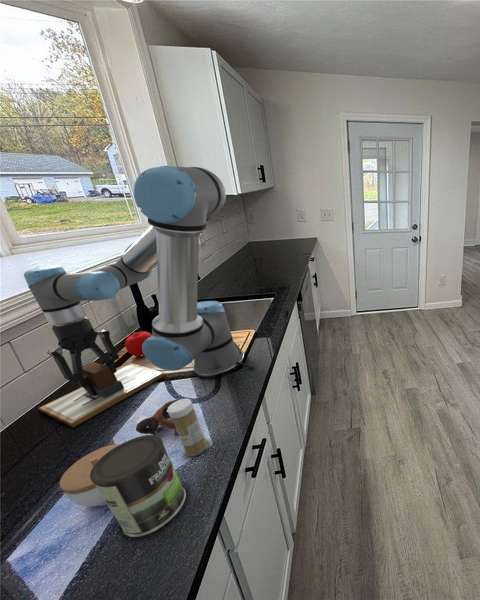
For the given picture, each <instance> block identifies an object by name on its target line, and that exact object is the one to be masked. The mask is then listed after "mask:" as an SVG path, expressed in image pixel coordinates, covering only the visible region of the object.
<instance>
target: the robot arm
mask: <svg viewBox="0 0 480 600" xmlns="http://www.w3.org/2000/svg"><path fill="white" fill-rule="evenodd" d="M132 192H133V199H134V202H135V205H136V207H138V208H140V212H141V213H142V215H144V217H146V218H147V224H148V225H149V226H150V227H148V229H146V231H145V232H143V234H142V235H141V236H140V237H139V238H138V239H137V240H135V242H134V243H133V244H132V245H131V246H130V247H129V248H128V249H126V251H125V252H124V253H123V254H122V255H121V256H120V257H119V258H118V259H117V260H116V261H115V262H112V263H108V264H105V265H103V266H99V267H96V268H93V269H90V270H86V271H83V272H71V273H68V272H67V271H66V270H65V268H64V267H63V266H62V265H57V264H55V265H53V264H52V265H46V266H40V267H35V268H31V269H28V270H26V271H25V272H24V273H23V278H24V279H25V282H26V285H27V288H28V289H29V290H30V292H31V294H32V295H33V297H34V299H35V301H36V302H37V303H36V304H38V306H39V308H40V309H41V311H42V313H43V315H44V316H45V318H46V321H47V323H48V324H49V325H50V326H51V327H50V328H51V330H52V332H53V334H54V336H55V337H56V339H57V341H58V342H57V346H56V347H54V348H53V349H49V350H47V352H46V353H47V354H48V355H49V356H50V357H51V358H53V360H54V361H55V363H56V366H57V367H58V369H59V371H60V373H61V374H62V377H63V378H64V380H67V381H69V382H73V381H75V380H76V382H77V384H78V386H79V388H81V387H82V388H85V387H86V389H87V391H88V393H89V394H91V395H93V396H95V395H97V393H96V392H95V390H94V387H93V386H92V384H91V382H90V380H89V378H88V376H85V375H83V369H82V366H83V362H82V352H84V351H85V350H88V349H90V351H92V353H93V354H95V355H96V356H97V357H98V358H99V359H100V360H101V362H103V363H104V365H105V366H108V367H109V368H110V370H111V372H112V374H113V376H114V378H115V380H117V378H116V376H115V374H114V373H116V372H117V370H118V369H117V368H116V366H115V364H116V361H117V360H119V359H120V355H119V353H118V352H117V349H116V348H115V346H114V343H113V342H112V340H111V337H110V336H111V335H110V334H111V333H110V331H109V330H106V329H101V330H95V329H94V328H93V327H94V326H93V325H92V323H91V321H90V318H89V317H87V313H86V310H85V309H84V307H83V305H82V303H81V302H88V301H93V302H95V301H97V302H99V301H103V300H110V299H112V298H115V297H116V295H117V294H118V292H120V290H122V289H124V288H127V287H130V286H133V285H135V284H137V283H140V282H143V281H144V280H145V279H148V278H150V276H151V275H152V271H153V269H154V267H155V266H156V267H157V268H156V269H157V270H156V271H157V295H158V296H157V297H158V298H157V300H158V315H157V316H155V317H154V318H153V319H152V322H151V335H152V336H151V337H149V338H148V339H146V341H145V342H144V343H143V346H142V351H143V354H144V358H145V359H146V360H147V361H148V362H150V363H151V364H152V365H153V366H155V367H156V368H159V369H161V370H165V371H173V372H174V371H175V372H176V371H179V370H182V369H184V368H185V367H186V366H188V365H190V364H191V365H192V366H193V371H194V374H195V375H196V376H197V377H199V378H203V379H209V378H210V379H211V378H216V377H221V376H224V375H226V374H229V373H232V372H233V371H235V370H236V369H238V368H239V367H240V366H242V367H245V368H248V369H251V370H253V369H254V366H252V365H250V364H246V363H244V362H245V354H244V352H243V350H242V349H241V348H240V346H239V345H238V344H237V343H236V341H235V340H234V338H233V334H232V331H231V327H230V324H229V321H228V317H227V315H226V310H225V308H224V306H223V303H221V302H219V301H216V300H204V301H199V302H198V292H199V291H198V290H199V288H198V287H199V285H198V284H199V283H198V282H199V240H200V239H199V237H200V236H199V235H200V234H203V232H205V231H206V230H207V222H208V221H209V220H210V219H211V218H212V217H213V216H214V215H216V214H217V213H218V212H220V210H221V209H222V208H223V207H224V205H225V203H226V201H227V200H226V199H227V192H226V187H225V185H224V183H223V182H222V180H221V178H219V177H218V176H217V175H216V174H215V173H213V172H212V171H211V170H209V169H206V168H203V167H200V166H199V167H198V166H171V165H161V166H156V167H150V168H147V169H145V170H143V172H140V174H139V175H138V176H137V177H136V179H135V181H134V184H133V188H132ZM97 338H99V339H100V340H101V342H102V344H103V346H104V348H105V351H106V352H107V354H106V352H105V351H103V350H102V349H101V347H100V346H99V345H98V344H97V343H96V341H97ZM63 349H64V350H66V351H69V356H70V359H71V368H72V369H71V368H70V366H69V364H68V362H67V361H66V359H65V357H64V356H63V353H64V352H63Z"/></svg>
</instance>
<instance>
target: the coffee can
mask: <svg viewBox="0 0 480 600" xmlns="http://www.w3.org/2000/svg"><path fill="white" fill-rule="evenodd" d="M119 444H120V445H118V446H117V447H115V448H113V449H112V450H110V451H109V452H108V453H106V454H105V455H104V456H103V457H101V458H100V459H99V460H98V461H97V463H96V464H95V465H94V466H93V468H92V470H91V472H90V479H91V481H92V482H93V483H94V484H95V485H96V487H97V488H98V490H99V491H100V493H101V495H102V496H103V498H104V500H105V501H106V503H107V504H106V505H107V507H108V508H109V509H110V511H111V513H112V514H113V516H114V517H115V519H116V521H117V523H118V524H119V526H120V527H121V529H122V532H123V534H124V535H126V536H127V537H131V538H139V537H145V536H146V535H150V534H152V533H154V532H156V531H159V530H160V529H161V528H163V527H164V526H165V525H167V524H168V523H169V522H170V521H172V520H173V518H174V517H175V516H177V514H178V513H179V512H180V511H181V509H182V508H183V506H184V504H185V502H186V497H187V493H186V489H185V488H184V486H183V484H182V482H181V480H180V478H179V476H178V473H177V471H176V469H175V466H174V465H173V463H172V460H171V457H170V456H169V453H168V452H167V449H166V447H165V443H164V441H163V439H162V437H160V436H159V435H157V434H156V435H152V434H144V435H140V436H136V437H134V438H131V439H128V440H126V441H125V442H122V443H119Z"/></svg>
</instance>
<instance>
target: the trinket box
mask: <svg viewBox="0 0 480 600" xmlns="http://www.w3.org/2000/svg"><path fill="white" fill-rule="evenodd" d="M120 444H121V443H115V444H110V445H105V446H103V447H100V448H98V449H96V450H93V451H92V452H90V453H88V454H85V456H83V457H81V458H80V459H78V460H77V461H76V462H74V463H73V464H72V465H71V466H69V468H68V469H67V470H66V471H65V472H64V473H63V474H62V476H61V478H60V479H59V487H60V489H61V491H62V492H63V493H65V495H66V496H67V497H68V498H69V499H70V500H71V502H74V503H75V504H76V505H78V506H79V505H80V506H82V507H90V508H91V507H102V506H106V505H107V503H106V501H105V500H104V498H103V496H102V495H101V493H100V491H99V490H98V488H97V487H96V485H95V484H94V483H93V482H92V481H91V479H90V472H91V470H92V468H93V466H94V465H95V464H96V463H97V461H98V460H99V459H100V458H101V457H103V456H104V455H105V454H106V453H108V452H109V451H110V450H112V449H113V448H115V447H117V446H118V445H120Z"/></svg>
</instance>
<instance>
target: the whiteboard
mask: <svg viewBox="0 0 480 600" xmlns="http://www.w3.org/2000/svg"><path fill="white" fill-rule="evenodd" d="M116 370H117V372H116V373H114V374H115V376H116V378H117V380H118V381H121V383H122V385H123V387H124V388H123V389H121V390H119V391H117V392H115V393H114V394H112V395H110V396H108V397H106V398H104V397H101V396H99V395H95V396H93V395H91V394H89V393H88V391H86V390H85V389H84V388H82V387H79V388H77V389H75V390H73V391H71V392H69V393H66V394H64V395H62V396H61V397H58V398H56V399H55V400H53V401H50V402H48V403H46V404H44V405H42V406H40V407H38V409H39V410H40V412H42V413H44V414H45V415H48V416H50V417H52V418H54V419H56V420H58V421H59V422H62V423H63V424H65V425H67V426H70V427H71V428H75V427H76V426H79V425H80V424H82V423H83V422H85V421H87V420H89V419H91V418H93V417H94V416H97V415H98V414H100V413H102V412H103V411H106V410H107V409H109V408H111V407H112V406H114V405H116V404H117V403H119V402H121V401H123V400H124V399H126V398H128V397H130V396H132V395H133V394H136V393H137V392H139V391H141V390H142V389H144V388H146V387H148V386H150V385H152V384H153V383H155V382H157V381H159V380H160V379H162V378H164V377H165V374H164V372H163V371H159V370H155V369H153V368H149V367H146V366H143V365H139V364H136V363H134V362H131V363H128V364H127V365H124V366H123V367H120V368H117V369H116Z"/></svg>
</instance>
